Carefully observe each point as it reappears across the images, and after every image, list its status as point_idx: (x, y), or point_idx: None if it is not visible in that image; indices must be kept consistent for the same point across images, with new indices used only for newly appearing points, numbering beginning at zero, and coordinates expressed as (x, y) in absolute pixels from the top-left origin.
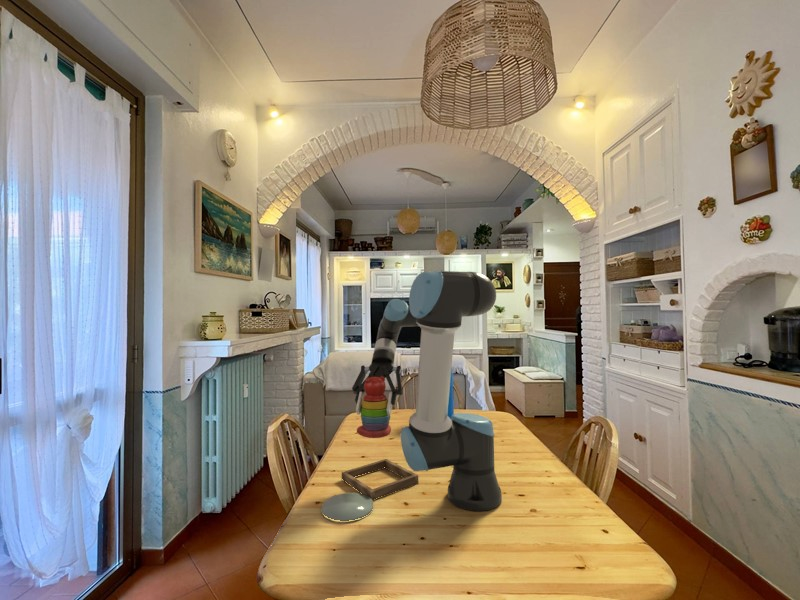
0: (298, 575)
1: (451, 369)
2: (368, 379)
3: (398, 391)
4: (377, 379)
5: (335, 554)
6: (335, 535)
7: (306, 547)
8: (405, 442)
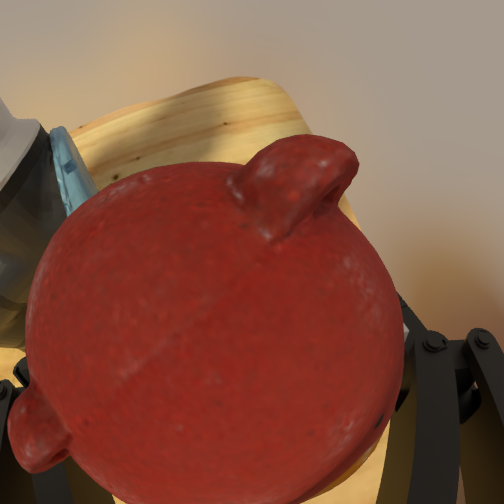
0: (243, 89)
1: None
2: (281, 139)
3: (21, 391)
4: (69, 229)
5: (219, 118)
6: (238, 145)
7: (263, 118)
8: (80, 164)
